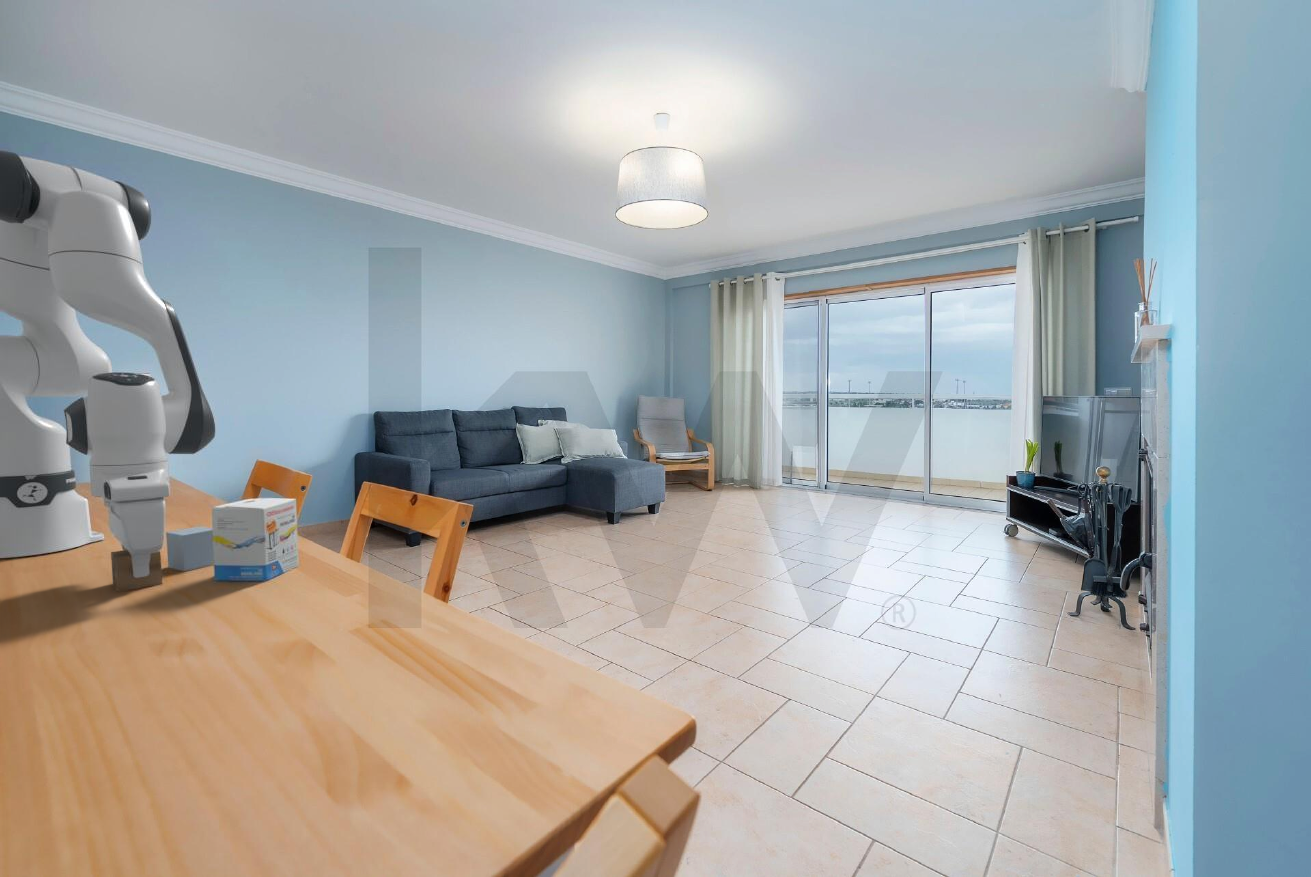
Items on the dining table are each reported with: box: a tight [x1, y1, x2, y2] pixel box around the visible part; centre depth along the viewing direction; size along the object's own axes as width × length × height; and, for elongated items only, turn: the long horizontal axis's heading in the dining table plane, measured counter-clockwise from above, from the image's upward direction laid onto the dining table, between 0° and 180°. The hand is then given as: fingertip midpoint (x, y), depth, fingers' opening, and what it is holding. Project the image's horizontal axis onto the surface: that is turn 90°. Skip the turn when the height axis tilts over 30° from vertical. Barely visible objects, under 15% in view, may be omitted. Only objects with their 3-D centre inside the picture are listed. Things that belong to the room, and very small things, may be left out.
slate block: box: [165, 525, 214, 572], centre depth 100 cm, size 5×5×6 cm
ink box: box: [211, 497, 300, 582], centre depth 96 cm, size 9×8×12 cm
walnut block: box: [110, 550, 163, 593], centre depth 90 cm, size 5×5×5 cm
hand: (137, 571), depth 90 cm, fingers closed on walnut block, 5 cm apart
